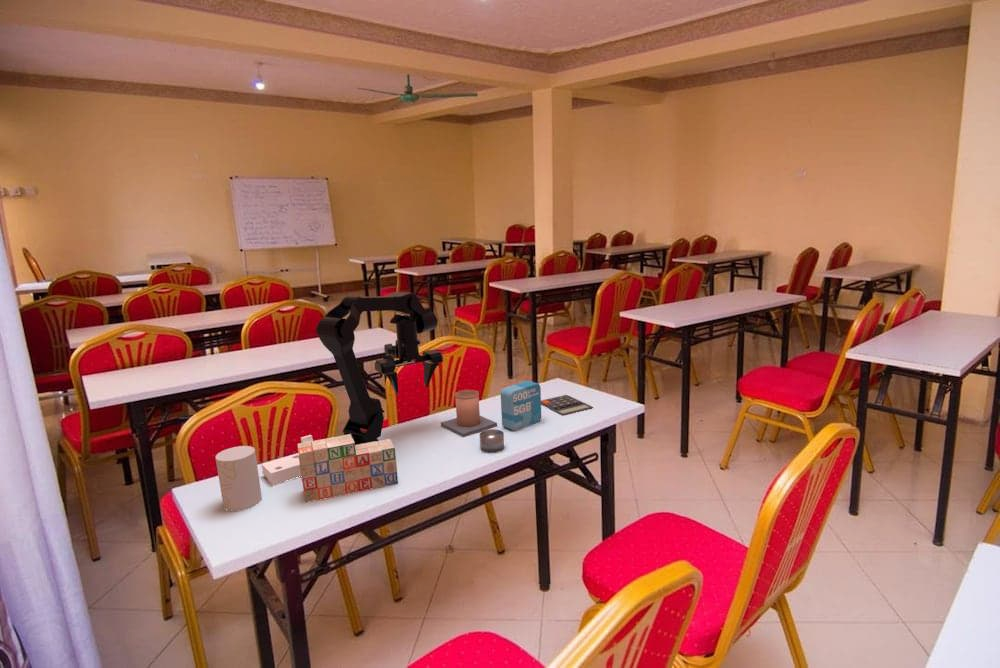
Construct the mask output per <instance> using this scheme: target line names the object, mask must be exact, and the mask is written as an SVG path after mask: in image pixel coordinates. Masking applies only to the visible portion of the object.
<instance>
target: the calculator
mask: <svg viewBox="0 0 1000 668" xmlns="http://www.w3.org/2000/svg"><path fill="white" fill-rule="evenodd" d="M541 406H543V407H544V406H545V408H546V407H547V408H546V409H548V408H549V410H551V412H554V413H556V414H558V415H560V416H567V415H571V414H577V413H580V411H581V412H584V410H585V411H588V409H589V410H593V409H594V406H592V405H590V404H587V403H586V402H583V401H582V400H579V399H578V398H575V397H572V396H571V395H568V394H564V395H560V396H554V397H550V398H546V399H541ZM592 408H593V409H592ZM576 412H577V413H576Z"/></svg>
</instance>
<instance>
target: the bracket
mask: <svg viewBox="0 0 1000 668" xmlns="http://www.w3.org/2000/svg"><path fill="white" fill-rule="evenodd" d="M300 441H301V442H300V443H304V442H310V441H311V442H312V441H314V439H313V435H311V434H309V435H305V436H302V437H300ZM261 467H262V475H263V476H265V478H266V479H267V482H268V483H269V482H270V483H271V484H272V485H274V486H276V485H275V484H277V485H279V484H278V483H280V484H282V483H281V482H283V483H285V482H284V481H286V480H290V479H293V478H296V477H299V476H301V470H300V462H299V452H298V453H294V454H292V455H288V456H285V457H282V458H277V459H275V460H271V461H268V462H265V463H262V464H261ZM299 478H300V477H299ZM296 479H297V478H296ZM293 480H294V479H293ZM290 481H291V480H290ZM270 483H269V484H270ZM271 484H270V485H271Z"/></svg>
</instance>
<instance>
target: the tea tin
mask: <svg viewBox="0 0 1000 668" xmlns="http://www.w3.org/2000/svg"><path fill="white" fill-rule="evenodd" d="M504 437H505V435H504V432H503V431H502V430H500V429H492V428H490V429H487V430H484V431H481V432H479V445H480V446H479V447H480V450H481V452H483V453H486V454H487V453H488V454H495V453H499V452H501V451H502V452H503V450H504V449H505V438H504Z"/></svg>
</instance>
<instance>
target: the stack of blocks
mask: <svg viewBox="0 0 1000 668" xmlns="http://www.w3.org/2000/svg"><path fill="white" fill-rule="evenodd" d="M297 452H298V453H299V462H300V470H301V476H302V477H301V482H302V488H303V497H304V502H306V503H309V502H308V501H311V502H314V501H313V500H316V501H321V500H320V499H322V500H325V499H324V498H327V499H330V497H331V498H335V496H336V497H340V496H339V495H341V496H346V495H348V493H350V494H353V492H354V493H358V491H359V492H362V491H367V490H366V489H368V490H371V488H372V489H377V488H376V487H378V488H380V487H385V486H386V485H387V486H391V485H397V484H398V483H399V481H398V479H399V477H398V467H397V466H398V465H397V456H396V448H395V446H394V444H393V443H392V441H391V439H390V438H386V439H383V440H382V439H381V440H379V441H374V442H369V443H364V444H358V445H355V442H354V440H353V438H352V436H351V434H348V435H344V434H343V435H338V436H333V437H331V436H330V437H328V438H323V439H322V438H321V439H317V440H313V441H312V442H311V441H310V442H304V443H301V442H300V443H297ZM345 494H346V495H345Z"/></svg>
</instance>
